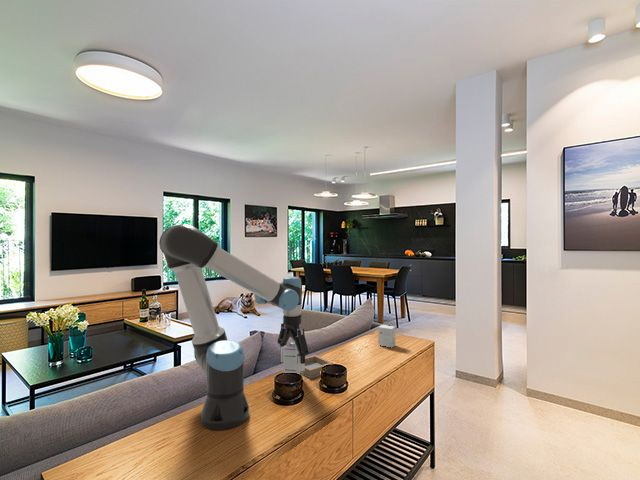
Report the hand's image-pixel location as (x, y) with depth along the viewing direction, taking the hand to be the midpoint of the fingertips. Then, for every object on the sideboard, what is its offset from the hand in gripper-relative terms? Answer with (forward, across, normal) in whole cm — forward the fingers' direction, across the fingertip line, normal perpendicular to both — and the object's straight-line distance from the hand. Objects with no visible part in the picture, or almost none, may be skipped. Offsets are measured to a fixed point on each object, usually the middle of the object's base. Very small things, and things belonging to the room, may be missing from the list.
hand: (292, 366), depth 135 cm
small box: (+6, +3, -64) cm, 64 cm away
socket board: (+6, +3, -13) cm, 14 cm away
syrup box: (+6, 0, 0) cm, 6 cm away
